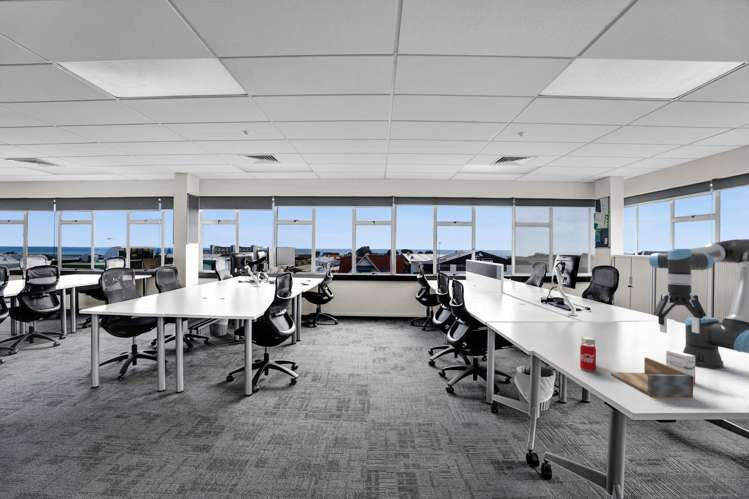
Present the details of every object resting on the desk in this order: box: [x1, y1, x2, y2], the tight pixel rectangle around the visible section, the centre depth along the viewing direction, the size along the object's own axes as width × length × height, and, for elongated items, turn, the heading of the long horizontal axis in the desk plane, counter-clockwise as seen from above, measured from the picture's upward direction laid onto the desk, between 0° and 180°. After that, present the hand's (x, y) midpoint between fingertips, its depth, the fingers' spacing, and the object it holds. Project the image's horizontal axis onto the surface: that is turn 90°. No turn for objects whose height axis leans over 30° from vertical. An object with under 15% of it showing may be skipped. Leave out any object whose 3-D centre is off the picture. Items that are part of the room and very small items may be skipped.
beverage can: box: [579, 342, 597, 373], centre depth 154 cm, size 6×6×12 cm
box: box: [581, 336, 596, 346], centre depth 162 cm, size 5×4×13 cm
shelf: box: [610, 357, 694, 399], centre depth 137 cm, size 16×22×8 cm
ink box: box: [665, 350, 696, 384], centre depth 143 cm, size 8×5×12 cm, turn 13°
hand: (679, 332), depth 143 cm, fingers open, 13 cm apart
